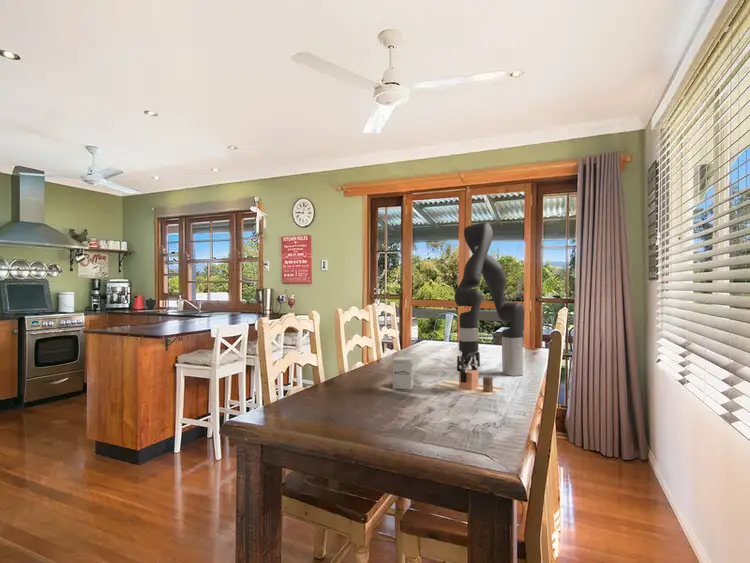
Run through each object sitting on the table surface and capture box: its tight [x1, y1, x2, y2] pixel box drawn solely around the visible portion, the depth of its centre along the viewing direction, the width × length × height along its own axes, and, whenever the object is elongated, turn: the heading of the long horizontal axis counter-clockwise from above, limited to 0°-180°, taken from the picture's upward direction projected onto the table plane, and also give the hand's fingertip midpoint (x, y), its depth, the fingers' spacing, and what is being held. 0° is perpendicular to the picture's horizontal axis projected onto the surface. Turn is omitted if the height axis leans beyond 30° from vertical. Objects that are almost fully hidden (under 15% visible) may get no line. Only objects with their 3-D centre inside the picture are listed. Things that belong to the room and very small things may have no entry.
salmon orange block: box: [458, 368, 479, 390], centre depth 163 cm, size 5×5×7 cm
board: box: [431, 379, 504, 398], centre depth 163 cm, size 15×24×1 cm, turn 49°
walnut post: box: [482, 376, 494, 392], centre depth 157 cm, size 3×3×5 cm
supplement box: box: [392, 356, 414, 393], centre depth 165 cm, size 7×7×13 cm
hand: (468, 380), depth 163 cm, fingers open, 8 cm apart
